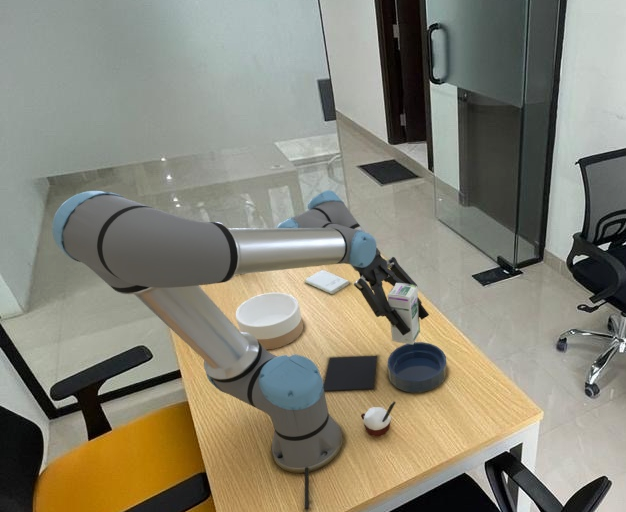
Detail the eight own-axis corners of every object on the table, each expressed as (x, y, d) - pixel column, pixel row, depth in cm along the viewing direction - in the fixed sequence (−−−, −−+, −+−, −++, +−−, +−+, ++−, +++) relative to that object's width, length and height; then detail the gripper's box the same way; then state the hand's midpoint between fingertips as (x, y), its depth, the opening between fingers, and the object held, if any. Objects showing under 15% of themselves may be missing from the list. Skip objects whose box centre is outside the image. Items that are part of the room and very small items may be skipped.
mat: (373, 389, 130) (373, 388, 130) (322, 391, 129) (322, 390, 129) (377, 356, 140) (376, 355, 140) (330, 358, 139) (329, 357, 139)
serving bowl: (447, 392, 130) (447, 379, 127) (387, 394, 128) (385, 382, 126) (445, 353, 143) (445, 341, 140) (390, 355, 141) (389, 343, 138)
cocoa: (358, 426, 120) (352, 390, 113) (380, 413, 123) (376, 378, 116) (378, 451, 114) (373, 415, 107) (401, 437, 117) (398, 402, 110)
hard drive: (323, 273, 176) (349, 284, 171) (305, 283, 170) (331, 294, 165) (322, 269, 175) (348, 280, 170) (304, 279, 169) (331, 290, 164)
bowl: (263, 310, 156) (256, 288, 152) (313, 318, 154) (309, 296, 149) (230, 344, 143) (222, 321, 138) (285, 354, 140) (278, 330, 135)
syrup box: (413, 345, 125) (410, 297, 116) (391, 341, 126) (387, 293, 117) (420, 331, 129) (418, 285, 121) (398, 328, 130) (395, 281, 122)
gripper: (336, 260, 110) (399, 341, 114) (392, 227, 125) (447, 300, 128) (322, 274, 116) (383, 351, 119) (378, 240, 130) (430, 310, 133)
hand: (416, 324), depth 123 cm, fingers closed on syrup box, 7 cm apart
